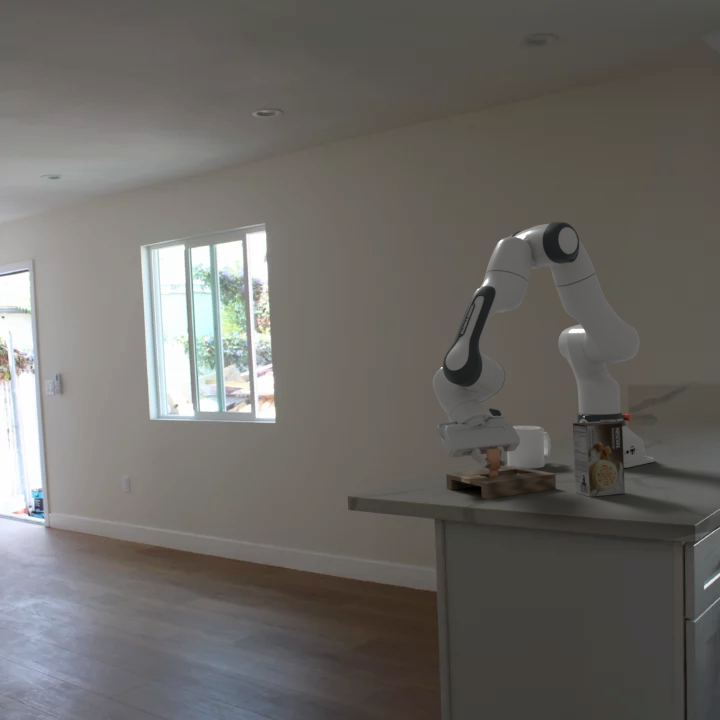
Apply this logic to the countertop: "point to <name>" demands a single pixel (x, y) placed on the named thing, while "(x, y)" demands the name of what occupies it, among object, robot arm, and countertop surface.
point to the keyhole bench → (503, 481)
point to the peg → (493, 461)
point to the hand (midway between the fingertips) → (495, 465)
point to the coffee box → (598, 458)
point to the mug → (530, 447)
